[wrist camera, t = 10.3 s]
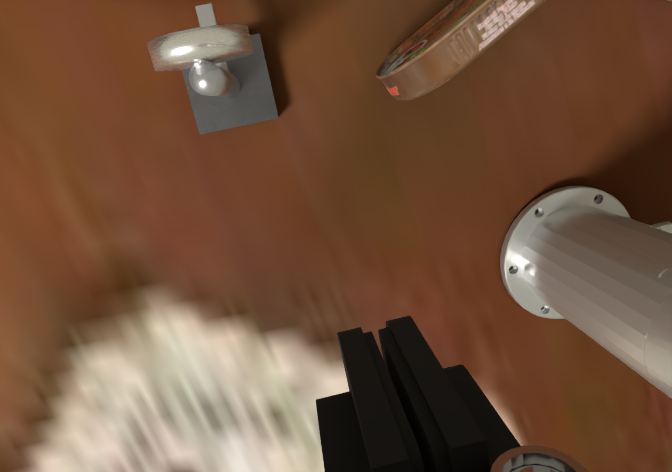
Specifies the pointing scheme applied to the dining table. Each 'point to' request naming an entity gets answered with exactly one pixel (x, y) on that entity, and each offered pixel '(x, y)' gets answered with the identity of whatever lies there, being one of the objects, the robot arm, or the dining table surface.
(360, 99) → the dining table surface
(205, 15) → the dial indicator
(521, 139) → the dining table surface
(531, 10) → the tin
